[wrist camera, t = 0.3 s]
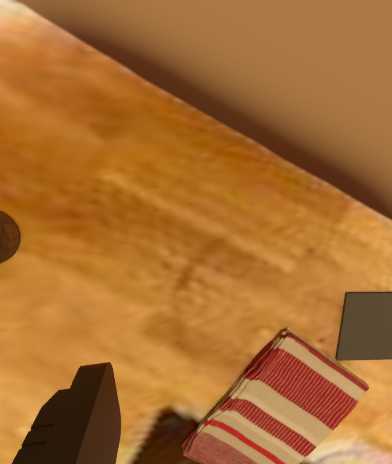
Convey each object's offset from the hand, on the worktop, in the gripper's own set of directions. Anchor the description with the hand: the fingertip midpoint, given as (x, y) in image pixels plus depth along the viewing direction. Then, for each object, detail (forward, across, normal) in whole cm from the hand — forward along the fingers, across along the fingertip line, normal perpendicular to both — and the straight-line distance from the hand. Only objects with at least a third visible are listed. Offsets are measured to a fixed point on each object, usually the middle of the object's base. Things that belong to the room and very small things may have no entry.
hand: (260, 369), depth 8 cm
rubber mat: (+29, +24, -18) cm, 42 cm away
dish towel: (+30, +9, -31) cm, 44 cm away
